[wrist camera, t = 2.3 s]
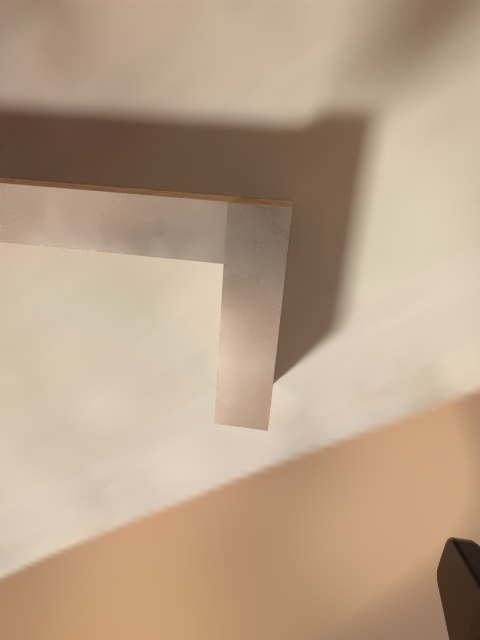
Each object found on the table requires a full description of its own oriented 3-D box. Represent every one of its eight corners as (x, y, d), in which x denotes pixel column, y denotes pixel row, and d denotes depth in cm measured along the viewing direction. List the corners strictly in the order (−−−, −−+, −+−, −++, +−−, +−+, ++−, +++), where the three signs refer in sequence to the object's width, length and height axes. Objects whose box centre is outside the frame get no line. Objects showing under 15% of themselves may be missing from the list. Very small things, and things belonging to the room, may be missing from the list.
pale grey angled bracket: (272, 384, 18) (267, 430, 15) (-90, 339, 20) (-166, 371, 16) (310, 48, 14) (315, 7, 10) (-165, 27, 15) (-290, -14, 12)
